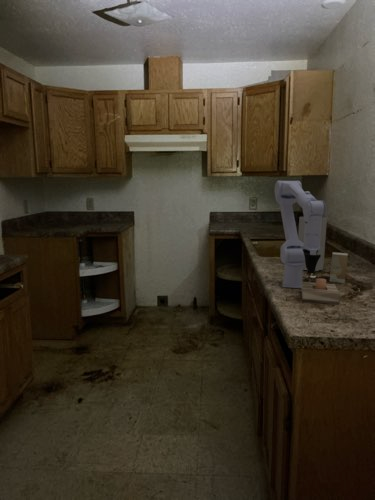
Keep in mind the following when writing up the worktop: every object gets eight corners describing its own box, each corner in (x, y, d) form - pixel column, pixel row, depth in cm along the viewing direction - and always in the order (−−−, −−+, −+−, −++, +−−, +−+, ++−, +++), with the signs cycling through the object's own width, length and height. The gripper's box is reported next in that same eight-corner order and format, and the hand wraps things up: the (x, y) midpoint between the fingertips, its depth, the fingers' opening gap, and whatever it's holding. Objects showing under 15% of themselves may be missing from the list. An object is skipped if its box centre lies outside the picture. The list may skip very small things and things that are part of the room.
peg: (318, 293, 142) (320, 277, 141) (327, 295, 139) (328, 279, 138) (312, 294, 140) (314, 279, 139) (320, 297, 137) (322, 281, 136)
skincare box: (329, 281, 163) (331, 253, 160) (329, 279, 167) (331, 252, 164) (345, 283, 160) (348, 254, 158) (345, 281, 164) (348, 253, 162)
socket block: (301, 292, 147) (301, 282, 146) (334, 294, 144) (334, 284, 144) (302, 301, 136) (303, 290, 135) (338, 304, 133) (339, 293, 132)
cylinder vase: (328, 270, 183) (332, 218, 179) (307, 272, 179) (311, 219, 174) (311, 265, 195) (314, 216, 190) (291, 267, 190) (294, 216, 186)
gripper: (299, 230, 146) (297, 265, 149) (302, 236, 132) (299, 274, 135) (319, 231, 144) (316, 266, 147) (323, 237, 131) (320, 275, 133)
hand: (309, 270), depth 141 cm, fingers open, 7 cm apart
